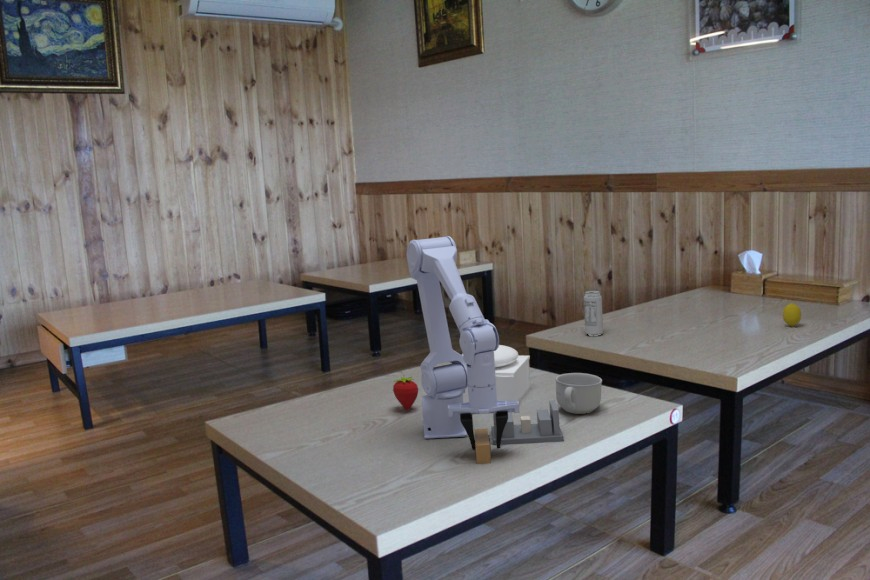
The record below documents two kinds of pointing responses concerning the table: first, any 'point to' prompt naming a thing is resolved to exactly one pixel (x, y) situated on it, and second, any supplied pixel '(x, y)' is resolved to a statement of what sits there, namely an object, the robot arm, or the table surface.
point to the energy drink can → (593, 313)
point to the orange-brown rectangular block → (482, 446)
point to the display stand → (531, 428)
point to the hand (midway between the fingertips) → (486, 447)
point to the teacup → (578, 392)
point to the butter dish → (509, 375)
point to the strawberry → (405, 391)
